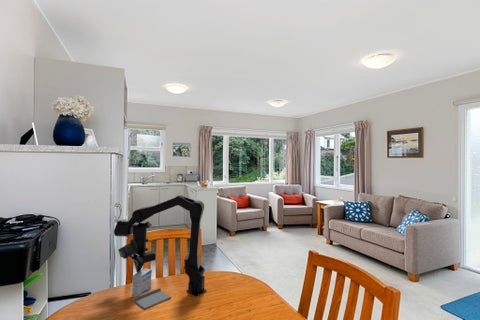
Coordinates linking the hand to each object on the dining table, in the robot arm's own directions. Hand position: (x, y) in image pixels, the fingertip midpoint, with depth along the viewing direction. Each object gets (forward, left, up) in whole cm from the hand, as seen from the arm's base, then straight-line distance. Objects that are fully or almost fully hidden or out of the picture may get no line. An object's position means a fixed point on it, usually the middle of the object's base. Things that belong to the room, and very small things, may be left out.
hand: (138, 272), depth 115 cm
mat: (0, +13, -8) cm, 15 cm away
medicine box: (0, +4, -8) cm, 8 cm away
